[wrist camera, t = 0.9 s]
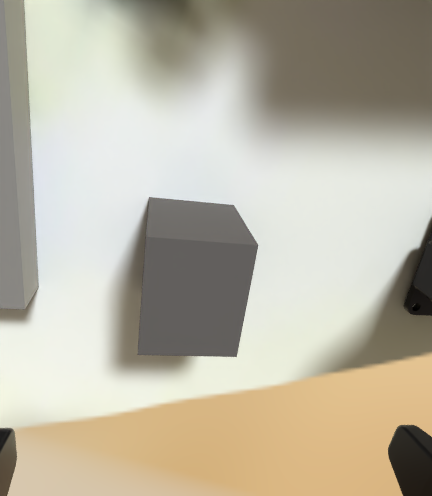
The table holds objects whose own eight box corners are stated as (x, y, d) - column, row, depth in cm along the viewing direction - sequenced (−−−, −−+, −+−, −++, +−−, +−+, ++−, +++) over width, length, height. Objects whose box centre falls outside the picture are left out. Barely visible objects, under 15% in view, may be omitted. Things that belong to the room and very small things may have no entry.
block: (236, 205, 18) (262, 245, 14) (221, 295, 20) (240, 356, 16) (149, 197, 17) (145, 236, 13) (142, 291, 19) (137, 354, 15)
